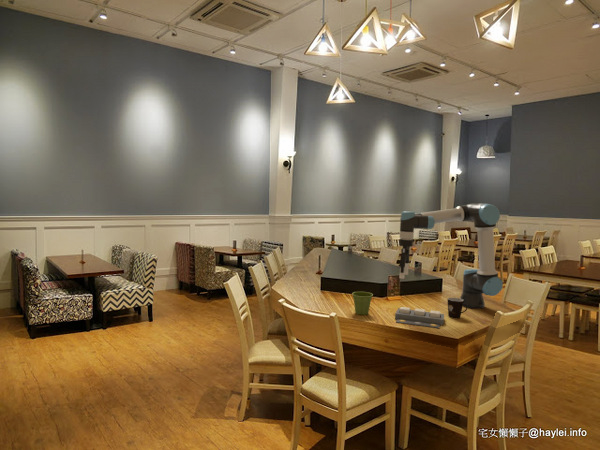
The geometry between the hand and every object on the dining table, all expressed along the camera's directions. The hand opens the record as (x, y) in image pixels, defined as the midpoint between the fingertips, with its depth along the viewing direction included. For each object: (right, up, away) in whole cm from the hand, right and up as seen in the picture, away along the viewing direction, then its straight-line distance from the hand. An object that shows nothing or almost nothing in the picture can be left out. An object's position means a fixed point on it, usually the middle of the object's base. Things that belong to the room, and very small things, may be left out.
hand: (403, 276), depth 243 cm
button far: (0, -20, -3) cm, 20 cm away
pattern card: (+4, -23, -15) cm, 28 cm away
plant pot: (-24, -21, +2) cm, 32 cm away
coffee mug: (+29, -23, 0) cm, 37 cm away
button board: (+7, -23, -6) cm, 25 cm away
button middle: (+7, -20, -6) cm, 22 cm away
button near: (+15, -21, -9) cm, 27 cm away
